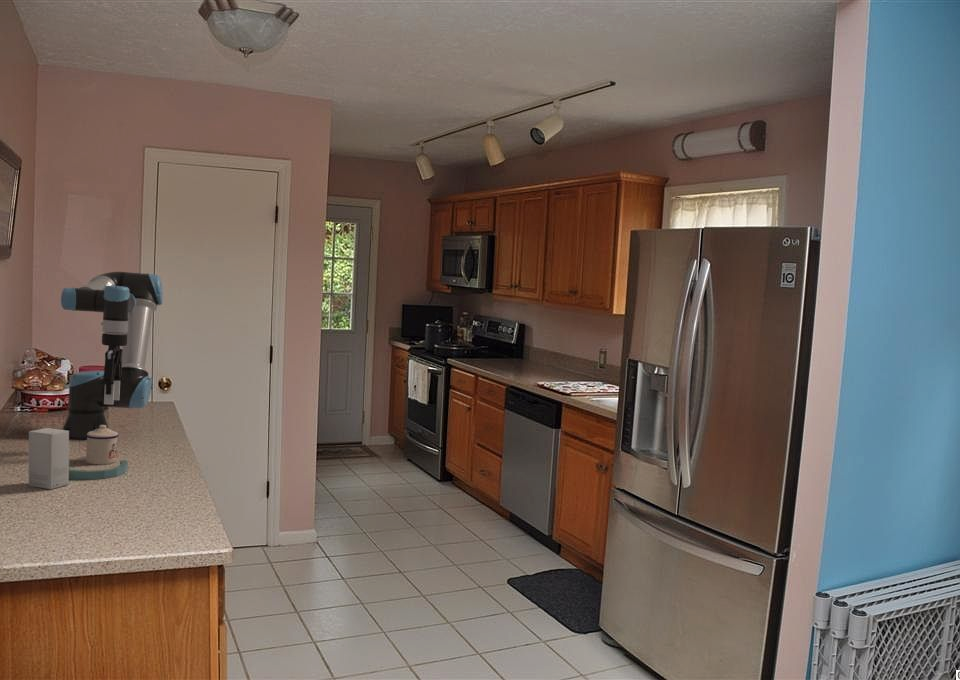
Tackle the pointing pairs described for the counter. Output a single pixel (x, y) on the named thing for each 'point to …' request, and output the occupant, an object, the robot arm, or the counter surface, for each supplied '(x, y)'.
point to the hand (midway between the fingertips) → (111, 402)
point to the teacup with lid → (101, 446)
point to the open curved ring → (99, 472)
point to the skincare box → (48, 458)
